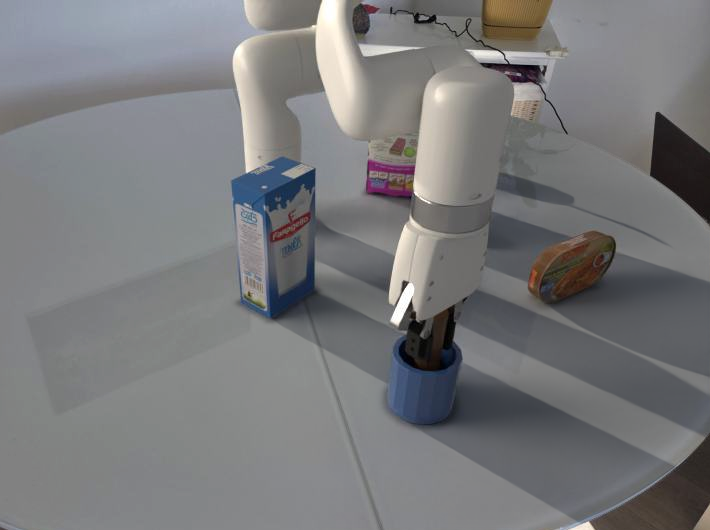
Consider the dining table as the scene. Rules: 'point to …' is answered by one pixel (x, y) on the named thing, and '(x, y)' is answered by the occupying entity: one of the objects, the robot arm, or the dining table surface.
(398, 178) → the candy bar box
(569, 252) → the tin
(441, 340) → the dowel
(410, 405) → the cup
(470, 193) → the robot arm
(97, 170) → the dining table surface
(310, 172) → the milk carton
